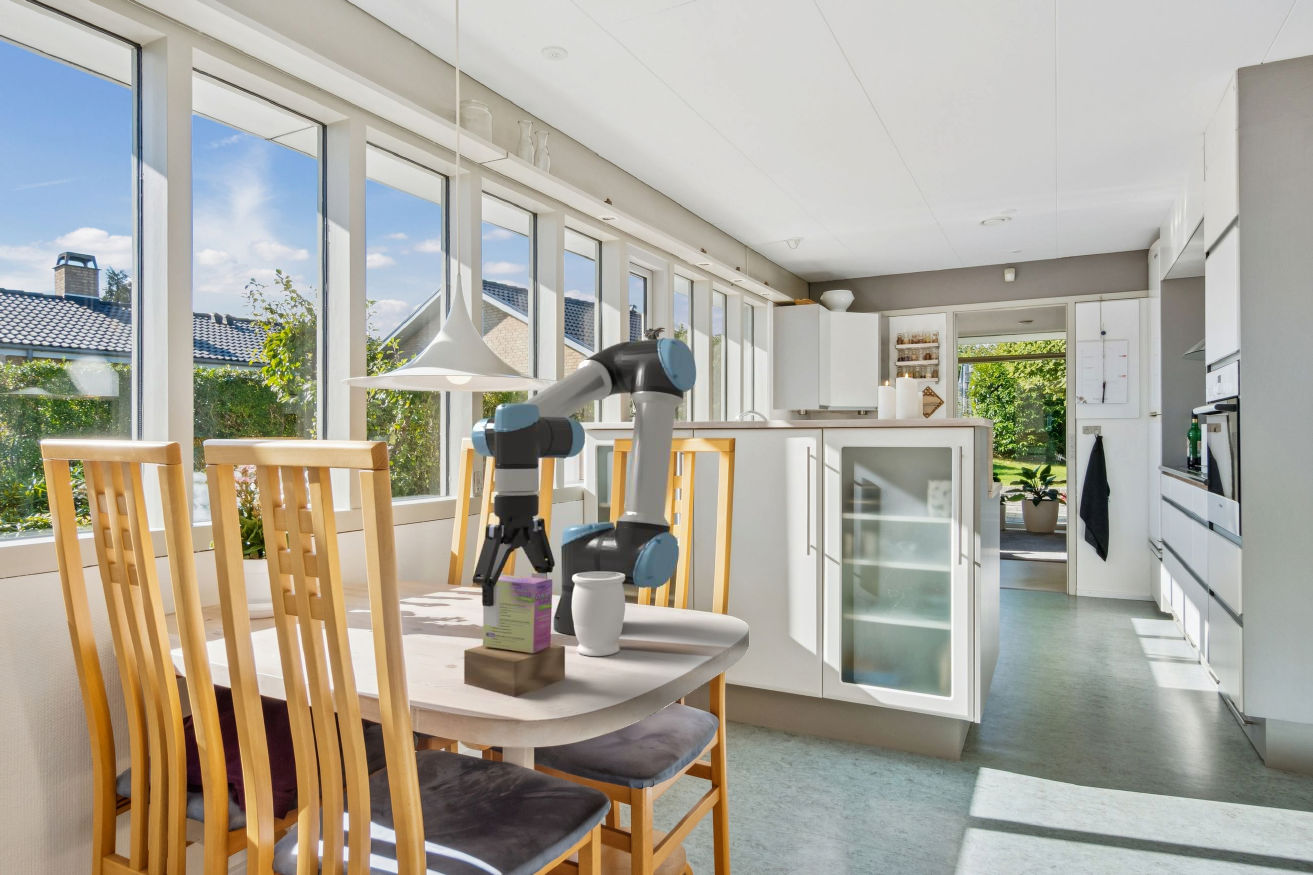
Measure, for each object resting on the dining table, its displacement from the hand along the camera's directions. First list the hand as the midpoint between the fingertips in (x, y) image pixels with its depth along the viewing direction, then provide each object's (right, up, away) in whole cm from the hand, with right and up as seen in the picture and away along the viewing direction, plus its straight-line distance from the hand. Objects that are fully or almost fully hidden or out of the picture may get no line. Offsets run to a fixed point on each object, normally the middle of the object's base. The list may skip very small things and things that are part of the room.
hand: (516, 617), depth 133 cm
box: (0, -5, 0) cm, 5 cm away
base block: (0, -11, 0) cm, 11 cm away
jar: (+13, -11, +19) cm, 26 cm away
